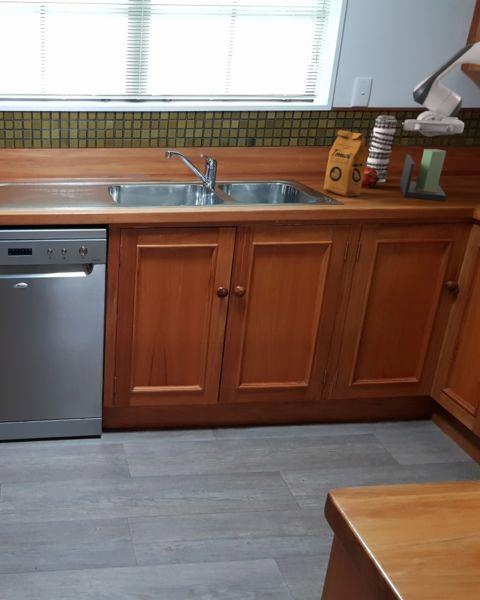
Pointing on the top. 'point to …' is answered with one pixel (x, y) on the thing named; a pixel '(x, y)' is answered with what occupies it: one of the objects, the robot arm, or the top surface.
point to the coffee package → (346, 164)
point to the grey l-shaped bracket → (409, 185)
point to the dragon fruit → (369, 177)
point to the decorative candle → (381, 145)
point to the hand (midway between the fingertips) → (435, 128)
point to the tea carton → (430, 169)
